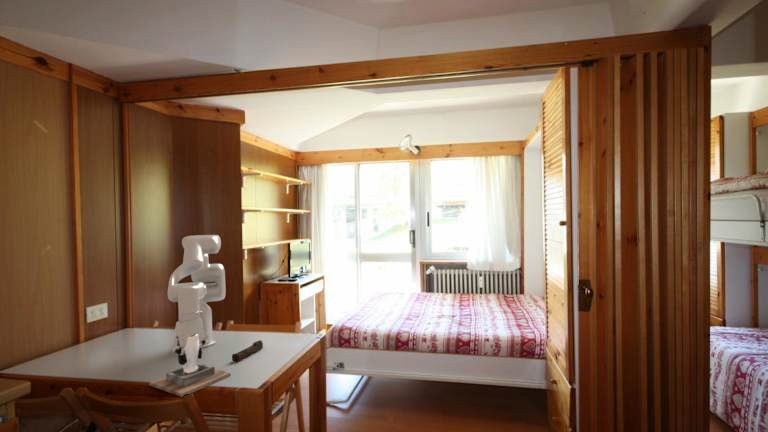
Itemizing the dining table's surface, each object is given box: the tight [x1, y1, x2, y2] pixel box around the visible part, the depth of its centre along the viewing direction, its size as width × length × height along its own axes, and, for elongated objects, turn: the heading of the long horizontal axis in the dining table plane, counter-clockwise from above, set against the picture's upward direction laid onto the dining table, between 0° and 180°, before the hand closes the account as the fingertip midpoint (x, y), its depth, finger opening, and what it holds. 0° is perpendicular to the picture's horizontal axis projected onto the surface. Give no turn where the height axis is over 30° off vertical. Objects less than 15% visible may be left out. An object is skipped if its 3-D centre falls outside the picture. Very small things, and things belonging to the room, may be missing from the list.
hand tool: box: [231, 339, 264, 363], centre depth 170 cm, size 19×4×5 cm, turn 158°
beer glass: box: [180, 334, 200, 375], centre depth 143 cm, size 7×7×15 cm
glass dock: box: [149, 362, 231, 398], centre depth 143 cm, size 22×20×4 cm
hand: (190, 360), depth 143 cm, fingers closed on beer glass, 6 cm apart
